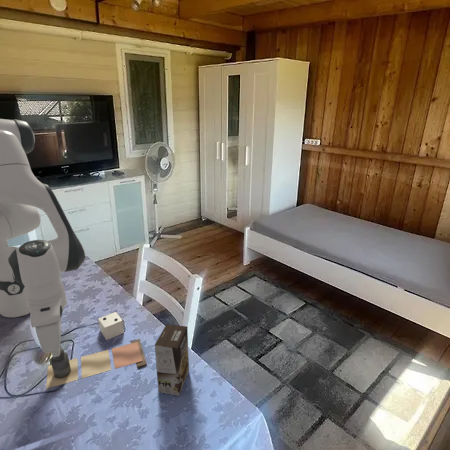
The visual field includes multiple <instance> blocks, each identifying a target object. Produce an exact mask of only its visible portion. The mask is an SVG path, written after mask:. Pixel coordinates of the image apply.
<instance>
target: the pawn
mask: <svg viewBox="0 0 450 450" xmlns="http://www.w3.org/2000/svg"><path fill="white" fill-rule="evenodd" d="M69 360H70V359H69V354H68V353H67V351H65V350H64V349H61V348H60V356H58V357H53V356H52V355H51V357H50V363H51V364H50V365H52V368H53V373H54V376H55V378H58V379H60V378H64V377H66V376H67V375H69V374H70V372H71V368H70V363H69Z"/></svg>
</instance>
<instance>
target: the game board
mask: <svg viewBox="0 0 450 450" xmlns="http://www.w3.org/2000/svg"><path fill="white" fill-rule="evenodd" d="M111 354H112V358H113V360H112V361H113V366H114V369H116V370H117V369H119V368H123V367H126V366H130V365H134V364H136V369H140V368H143V367H146V366H148V363H147V359H146V357H145V352H144V350H143V346H142V342H141V339H140V338H138V339H134V340H131V341H130V343H128V344H125V345H120V346H117V347H113V348H111ZM69 363H70V368H71V372H70V374H69V375H67V376H66V377H64V378H60V379H58V378H55V376H54V373H53V368H52V364H50V365H47V374H46V386H45V388H46V389H45V390H48V389H52V388H55V387H58V386H60V385H65V384H68V383H71V382H75V381H78V380H79V379H78V378H79V375H78V374H79V369H78V367H79V366H78V363H79V362H78V357H76V358H72V359H69ZM80 363H81V364H80V366H81V369H80V370H81V379H84V378H88V377H92V376H96V375H98V374H102V373H105V372H109V371H112V363H111V358H110V351H109V349H106V350H102V351H98V352H95V353H91V354H87V355H83V356H80Z"/></svg>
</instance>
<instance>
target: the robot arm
mask: <svg viewBox="0 0 450 450" xmlns="http://www.w3.org/2000/svg"><path fill="white" fill-rule="evenodd" d="M35 139H36V138H35V133H34V131H33V128H32V126H31V125H29V123H28V122H27V121H24V120H20V119H16V118H15V119H14V118H13V119H4V118H0V315H1V316H2V317H5V318H18V317H22V316H23V317H24V316H27V315H29V318H30V319H29V320H30V325H31V327H32V328H35V333H36V337H37V339H38V342H39V345H40V348H41V350H42V352H43V353H44V354H51V357H52V356H53V357H58V356H60V349H61V337H62V335H61V334H62V318H63V312H64V310H65V307H66V306H67V304H68V302H67V301H68V300H67V296H66V290H65V286H64V283H63V282H62V280H61V275H62V273H67V272H72V271H77V270H78V269H79V268H80V267H81V266H82V265H83V263H84V261H85V259H86V253H85V248H84V246H83V244H82V243H81V241H80V239H79V238H78V235H76V233H75V232H74V229H73V228H72V226H71V223H70V221H69V219H68V217H67V216H66V213H65V212H64V210H63V208H62V206H61V204H60V202H59V200H58V199H57V196H56V195H55V193H54V191H53V190H52V188H51V187H50V186H49V185H48V184H46V183H44V182H41V181H40V180H38V178H37V177H36V176H35V175H34V173H33V171H32V169H31V165H30V162H29V158H28V156H27V154H30V153H31V152H32V151H33V150H34V148H35V143H36V140H35ZM38 209H40V210H42V211H43V212H44V213H45V214H46V216H47V217H48V219H49V221H50V223H51V226H52V227H53V229H54V231H55V233H56V235H57V237H56V238H54V239H50V240H44V239H33V240H28V241H26V242H24V243H23V244H21V245H20V246H19V247H18V246H13V245H12V246H11V245H9V243H8V242H9V240H11V239H15V238H17V237H21V236H24V235H27V234H29V233H31V232H33V231H34V230H36V229H38V228H39V227H40V225H41V221H42V218H41V214H40V211H39V210H38Z"/></svg>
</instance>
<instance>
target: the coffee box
mask: <svg viewBox="0 0 450 450" xmlns="http://www.w3.org/2000/svg"><path fill="white" fill-rule="evenodd" d="M188 335H189V333H188V326H185V325H176V324H169V323H167V324H165V326H164V328H163V330H162V331H161V333H160V335H159V337H158V338H157V340H156V341H155V343H154V350H155V351H154V353H155V354H154V355H155V366H156V367H155V368H156V377H157V379H156V380H157V392H158V393H163V394H167V395H173V396H177V397H178V396H180V395H181V392H182V390H183V388H184V385H185V382H186V380H187V377H188V375H189V372H190V364H189V363H190V359H189V336H188Z"/></svg>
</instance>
